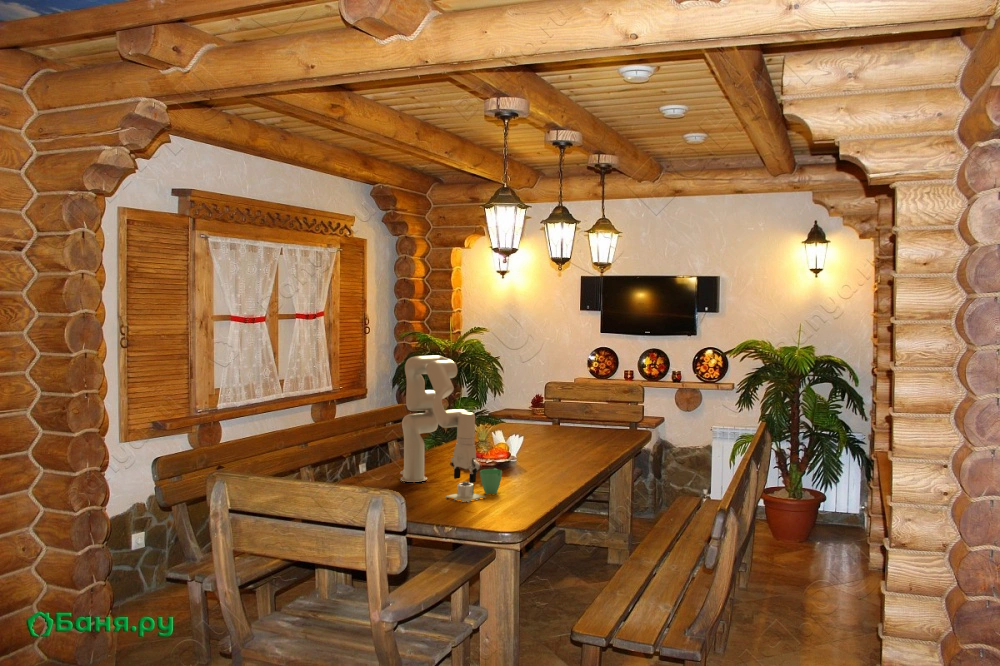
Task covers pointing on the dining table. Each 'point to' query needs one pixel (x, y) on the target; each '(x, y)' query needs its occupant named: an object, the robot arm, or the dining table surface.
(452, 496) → the square base peg stand
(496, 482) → the mug
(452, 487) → the dining table surface
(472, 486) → the white hollow cylinder
